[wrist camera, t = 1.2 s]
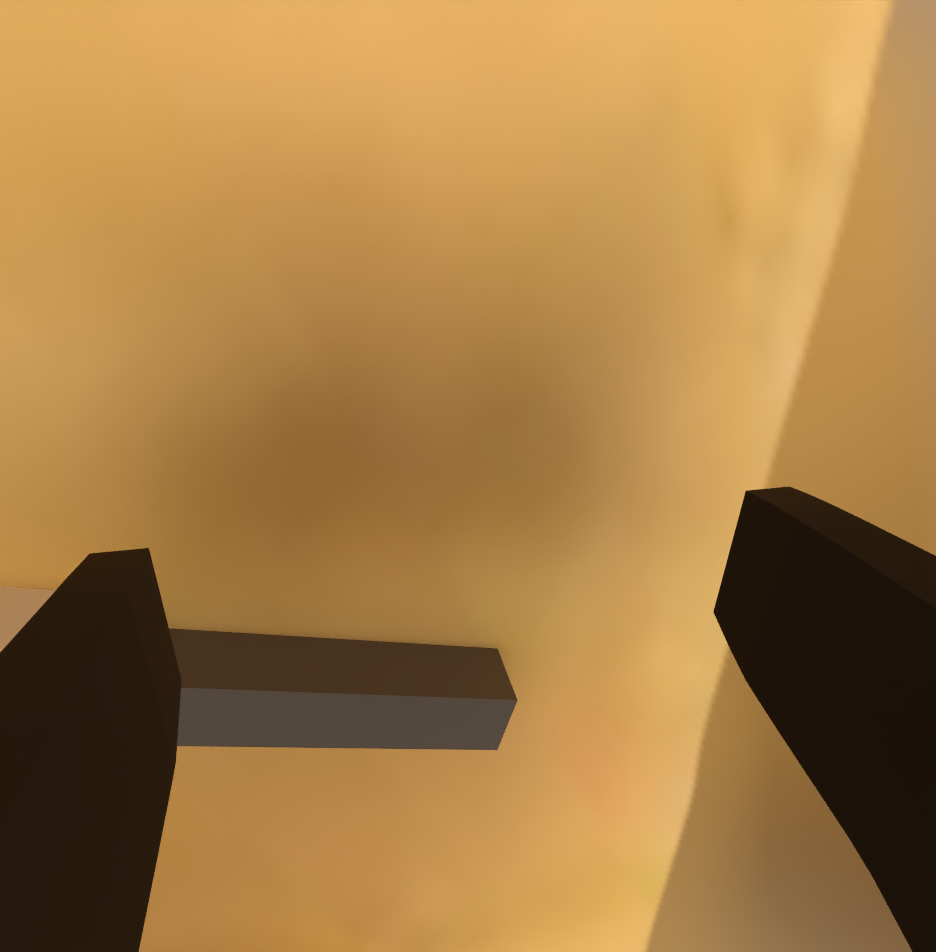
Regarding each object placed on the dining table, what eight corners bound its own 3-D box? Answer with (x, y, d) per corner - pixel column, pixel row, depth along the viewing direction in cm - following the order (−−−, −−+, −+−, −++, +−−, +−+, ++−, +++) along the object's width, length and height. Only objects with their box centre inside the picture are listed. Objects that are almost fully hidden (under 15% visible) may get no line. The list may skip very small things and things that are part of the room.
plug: (470, 718, 25) (498, 807, 22) (-65, 704, 20) (-121, 816, 17) (506, 623, 23) (541, 705, 20) (-69, 580, 18) (-132, 682, 15)
